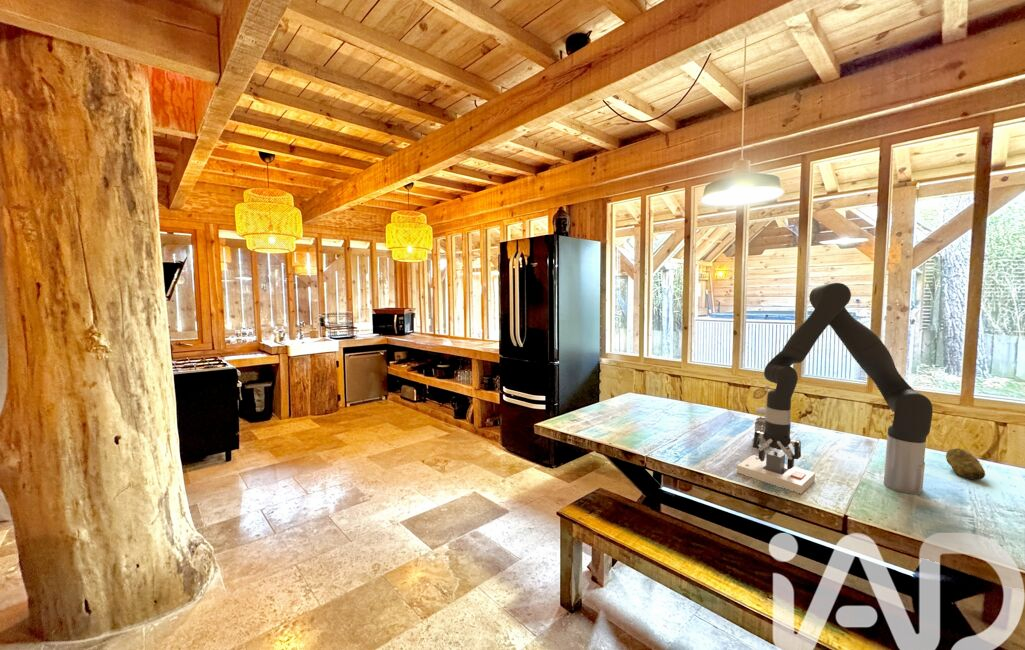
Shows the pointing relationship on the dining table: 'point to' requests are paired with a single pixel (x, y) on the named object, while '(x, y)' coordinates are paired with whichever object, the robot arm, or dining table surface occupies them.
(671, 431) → the dining table surface
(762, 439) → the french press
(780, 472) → the plug
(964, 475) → the potato
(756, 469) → the socket plate
